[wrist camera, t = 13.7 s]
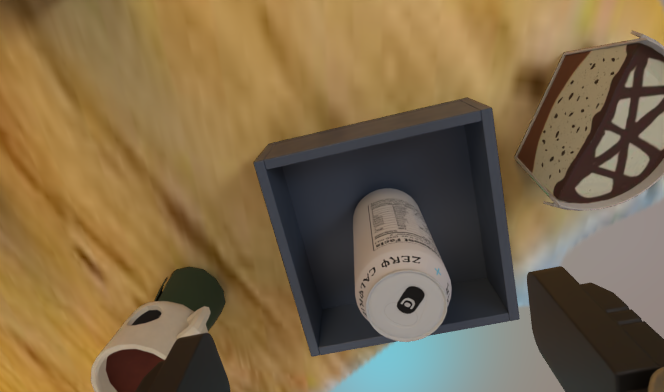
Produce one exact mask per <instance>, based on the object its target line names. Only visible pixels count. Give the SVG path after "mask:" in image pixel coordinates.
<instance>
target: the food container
mask: <svg viewBox="0 0 664 392" xmlns="http://www.w3.org/2000/svg"><path fill="white" fill-rule="evenodd" d="M631 33H632V34H634V35H636V36H638V37H640V38H639V39H634V40H629V41H623V42H618V43H612V44H607V45H601V46H596V47H590V48H585V49H580V50H574V51H569V52H564V54H563V56H562V58H561V60H560V62H559V64H558V66H557V68H556V70H555V73H554V75H553V77H552V79H551V81H550V83H549V85H548V87H547V89H546V92H545V94H544V96H543V98H542V100H541V102H540V104H539V106H538V108H537V111H536V113H535V115H534V117H533V119H532V121H531V123H530V125H529V127H528V130H527V132H526V134H525V136H524V138H523V140H522V142H521V144H520V146H519V149H518V151H517V153H516V155H515V157H514V159H515V160H516V161H517V162H518V163H519V165H520V166H521V167H522V168H523V169H524V170H525V171H526V172H527V173H528V174H529V175H530V177H531V178H532V179H533V180H534V181H535V182H536V183H537V184H538V185H539V186H540V187H541V189H542V190H543V191H544V192H545V193H546V194H547V195H548V196H549V197H550V198H551V199H552V201H553V202H554V203H549V202H545V201H544V203H543V204H547V205H550V206H554V207H558V208H562V209H567V210H578V211H580V210H595V209H602V208H607V207H612V206H615V205H617V204H620V203H623V202H626V201H628V200H630V199H632V198H634V197H636V196H638V195H639V194H641V193H642V192H644V191H645V190H647V189H648V188H650V187H651V186H652V185H653V184H654V183H656V182H657V181H658V180H659V179H660V178H661V177H662V176H663V175H664V46H662V45H661V44H660V43H658V42H657V41H656V40H654V39H652V38H650V37H648V36H646V35H644V34H641V33H638V32H635V31H631Z"/></svg>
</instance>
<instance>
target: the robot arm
mask: <svg viewBox="0 0 664 392" xmlns="http://www.w3.org/2000/svg"><path fill="white" fill-rule="evenodd" d="M527 286H528V295H529V304H530V312H531V321H532V330H533V334H534V338H535V341H536V344H537V346H538V348H539V351H540V353H541V354H542V356H543V358H544V359H545V361H546V362H547V364H548V365H549V367H550V368H551V370H552V372H553V373H554V375H555V376H556V378H557V379H558V381H559V383H560V384H561V386H562V387H563V389H564V390H565V392H664V339H663V338H662V337H661V336H660V335H659V334H657V333H656V332H655V331H654V330H653V329H652V328H651V327H650V326H649V325H648V324H647V323H646V322H642V320H641V318H640V317H639V316H638V315H637V314H636V313H635V312H634V311H633V310H629V308H628V306H627V305H626V304H625V303H624V302H623V301H622V300H621V299H620V298H618V297H617V296H616V295H615V294H614V293H613V292H611V291H608V290H606V289H604V288H602V287H600V286H598V285H595V284H593V283H587V284H581V285H580V284H579V283H578V282H577V281H576V280H575V279H574V278H573V277H572V276H571V275H570V274H569V273H568V272H567V271H566V270H565V269H564V268H563V267H554V268H549V269H544V270H538V271H533V272H529V273H528V275H527ZM135 392H230V385H229V381H228V378H227V375H226V373H225V370H224V367H223V365H222V362H221V359H220V356H219V354H218V351H217V348H216V346H215V343H214V340H213V338H212V336H211V335H210V334H209V333H202V334H197V335H191V336H186V337H181V338H178V339H177V340H176V341H175V343H174V345H173V347H172V348H171V350H170V352H169V354H168V356H167V357H166V359H165V361H161V362H159V363H158V364H157V365H156V366H155V367H154V368H153V369H152V370H151V371H150V372H149V373H148V374H147V375H146V376H145V377H144V378H143V379H142V381H141V383H140V384H139V386H138V388H137V389H136V391H135Z"/></svg>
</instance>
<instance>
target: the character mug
mask: <svg viewBox="0 0 664 392" xmlns="http://www.w3.org/2000/svg"><path fill="white" fill-rule="evenodd" d="M167 278H168V277H167ZM167 278H166V279H167ZM166 279H165V281H166ZM165 281H164V283H165ZM164 283H163V284H162V286H161V288H160V290H159V292H158V294H157V296H156V298H155V301H154V302H149V303H146V304H144V305H142V306H140V307H139V308H138V309H136V310H135V311H134V312H133V313H132V315H131V316H130V317H129V318H128V319H127V320H126V321H125V323H124V324H123V325H122V326H121V328H120V329H119V330H118V332H117V333H116V334H115V335H114V337H113V338H112V339H111V340H110V342H109V343H108V344H107V345H106V346H105V348H104V349H103V350H102V351H101V353H100V354H99V355H98V357H97V358H96V360H95V362H94V364H93V366H92V370H91V383H92V386H93V388H94V391H95V392H135V391H136V389H137V388H138V386H139V384H140V383H141V381H142V379H143V378H144V377H145V376H146V375H147V374H148V373H149V372H150V371H151V370H152V369H153V368H154V367H155V366H156V365H157V364H158V363H159V362H161V361H165V359H166V357H167V356H168V354H169V352H170V350H171V348H172V347H173V345H174V343H175V341H176V340H177V339H178V338H181V337H186V336H191V335H197V334H202V333H208V331H209V329H210V328H211V327H212V326H213V324H214V323H215V321H216V320H217V318H218V317H219V315H220V314H221V312H222V309H223V307H224V304H225V297H224V291H223V289H222V288H221V286H220V285H219V283H218V282H217V280H216V279H215V278H214V277H213V276H211V275H210V274H209V273H207V272H206V271H205V270H203V269H198V268H193V267H186V268H182V269H177V270H176V271H174V273H173V274H172V276H171V278H170V279H169V281H168V283H167V284H166V286H165V288H164V290H163V292H162V289H163V286H164Z"/></svg>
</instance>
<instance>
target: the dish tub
mask: <svg viewBox="0 0 664 392" xmlns="http://www.w3.org/2000/svg"><path fill="white" fill-rule="evenodd" d="M254 166H255V170H256V173H257V176H258V180H259V183H260V186H261V190H262V193H263V196H264V200H265V203H266V206H267V210H268V213H269V216H270V220H271V223H272V226H273V230H274V233H275V236H276V240H277V243H278V246H279V250H280V253H281V256H282V260H283V263H284V266H285V270H286V273H287V276H288V280H289V283H290V286H291V290H292V293H293V296H294V300H295V303H296V306H297V310H298V313H299V316H300V320H301V323H302V326H303V330H304V333H305V336H306V340H307V343H308V346H309V350H310V353H311V356H318V355H320V354H321V355H324V354H329V353H335V352H340V351H346V350H351V349H357V348H362V347H368V346H374V345H379V344H385V343H390V342H396V341H395V340H392V339H389V338H386V337H385V336H383V335H381V334H380V333H378V332H377V331H376V330H375V329H374V328H373V326H372V325H371V324H370V322H369V321H368V320H367V319H366V318H365V317H364V316H363V314H362V313H361V312H360V310H359V308H358V305H357V302H356V297H355V274H354V241H353V215H354V211H355V209H356V207H357V205H358V203H359V202H360V201H361V200H362V199H363V198H364V197H365V196H366V195H368V194H369V193H371V192H373V191H376V190H379V189H384V188H392V189H397V190H400V191H403V192H405V193H406V194H408V195H409V196H411V197H412V198H413V199H414V200H415V202H416V204H417V205H418V207H419V209H420V211H421V214H422V216H423V218H424V220H425V223H426V225H427V227H428V230H429V232H430V234H431V236H432V239H433V241H434V243H435V245H436V248H437V250H438V252H439V254H440V257H441V259H442V261H443V263H444V266H445V268H446V270H447V272H448V275H449V278H450V280H451V287H452V291H451V299H450V302H449V305H448V307H447V313H446V316H445V318H444V320H443V322H442V324H441V325H440V326H439V327H438V329H437V330H435V331H434V332H433V333H432V334H430V335H435V334H440V333H446V332H451V331H457V330H462V329H468V328H474V327H479V326H485V325H490V324H496V323H501V322H507V321H509V320H510V321H512V320H518V319H519V311H518V303H517V296H516V288H515V280H514V273H513V265H512V257H511V250H510V242H509V234H508V227H507V219H506V211H505V204H504V196H503V188H502V181H501V173H500V165H499V158H498V150H497V142H496V135H495V127H494V119H493V112H492V108H491V107H489V106H487V105H484V104H482V103H479V102H477V101H475V100H472V99H470V98H463V99H459V100H455V101H450V102H446V103H442V104H438V105H433V106H429V107H425V108H420V109H416V110H412V111H407V112H403V113H399V114H395V115H390V116H386V117H382V118H377V119H373V120H369V121H365V122H360V123H356V124H352V125H347V126H343V127H339V128H335V129H330V130H326V131H322V132H317V133H313V134H309V135H305V136H300V137H296V138H292V139H287V140H283V141H279V142H274V143H270V144H268V145H267V147H266V148H265V149H264V150H263V152H262V153H261V154H260V155H259V156H258V158H257V159H256V160H255V161H254ZM428 336H429V335H428Z"/></svg>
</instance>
